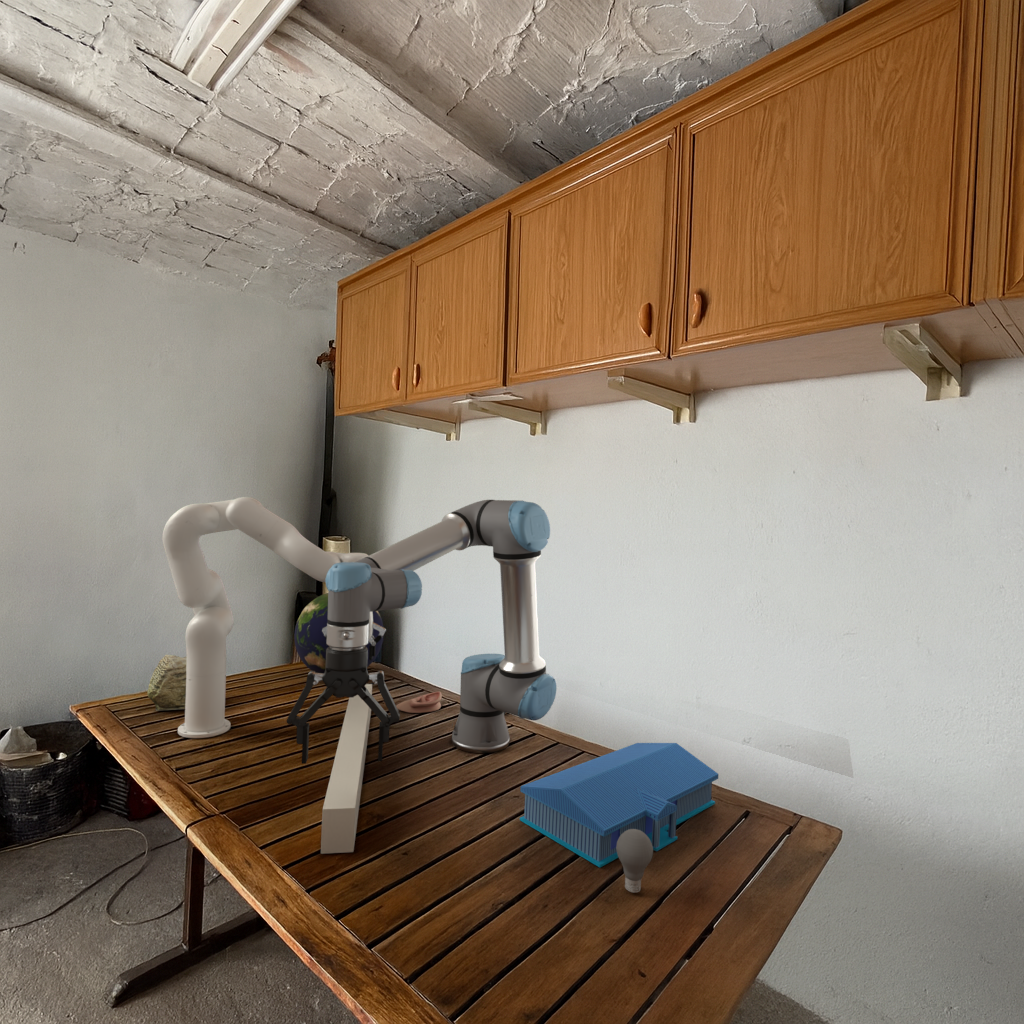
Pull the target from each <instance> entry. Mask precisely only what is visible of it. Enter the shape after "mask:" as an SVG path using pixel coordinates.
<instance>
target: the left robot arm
mask: <svg viewBox="0 0 1024 1024" xmlns="http://www.w3.org/2000/svg"><path fill="white" fill-rule="evenodd" d="M235 530H239V531H240V532H242V533H243V534H245V535H247V536H248V537H250V538H252V539H253V540H255V541H256V542H258V543H260V544H261V545H262V546H265V548H268V549H269V550H270V551H272V552H273V553H275V554H276V555H278V556H279V557H280V558H282V559H284V560H285V561H286V562H288V563H289V564H291V565H292V566H294V567H295V568H296V569H298V570H300V571H301V572H303V573H304V574H306V575H308V576H309V577H311V578H313V579H314V580H316V581H319V582H322V583H326V575H327V573H328V571H329V569H330V568H331V567H332V566H333V565H334V564H336V563H341V562H356V561H358V560H360V559H363V558H365V557H367V556H369V554H367V553H364V552H347V553H345V552H336V551H327V550H326V551H325V550H323V549H322V548H320V547H319V546H317V545H316V544H314V543H313V542H311V541H310V540H308V539H307V538H306V537H305V536H303V535H302V534H301V533H300V531H299V530H298V529H297V528H296V527H295V526H294V525H293V524H291V522H290V521H287V520H285V519H284V518H282V517H280V516H279V515H277V514H276V513H275V512H272V511H271V510H269V509H268V508H266V507H265V506H263V504H262V502H260V501H259V500H258V499H256V498H254V497H251V496H242V497H241V496H240V497H237V498H235V499H234V498H233V499H228V500H227V499H226V500H220V501H212V502H203V503H191V504H187V505H184V506H182V507H181V508H179V509H178V510H176V511H175V512H174V513H173V514H172V515H171V516H170V517H169V518H168V519H167V520H166V523H165V525H164V527H163V531H162V545H163V549H164V553H165V556H166V559H167V563H168V566H169V571H170V574H171V578H172V580H173V584H174V587H175V592H176V594H177V597H178V600H179V601H180V603H181V604H182V605H183V606H185V607H187V608H191V609H192V613H193V614H194V616H193V617H192V618H191V619H190V620H189V622H188V624H187V626H186V628H185V634H184V636H185V639H184V640H185V651H186V652H185V653H186V657H187V665H186V701H185V709H184V722H182V724H180V725H179V726H178V727H177V734H178V735H179V736H180V737H182V738H188V739H207V738H212V737H216V736H220V735H222V734H224V733H227V732H228V731H230V729H231V727H232V725H231V723H232V722H231V721H230V720H228V719H226V718H225V715H226V692H227V691H226V689H227V637H228V636H229V634H231V632H232V630H233V627H234V624H235V619H234V613H233V610H232V607H231V603H230V600H229V597H228V593H227V590H226V586H225V585H224V582H223V579H222V578H221V576H220V574H218V572H217V571H214V570H213V569H211V568H209V567H208V564H207V561H206V558H205V554H204V551H203V548H202V546H201V545H200V538H201V537H202V536H205V535H208V534H214V533H215V534H216V533H221V532H230V531H235ZM373 628H374V629H376V630H378V631H379V632H380V633H379V635H378V636H377V637H376V638H374V637H373V635H372V634H373ZM322 632H323V634H324V636H325V638H326V640H327V627H325V628H323V629H322ZM386 632H387V629H386V628H385V627H384V626H383V627H381V626H379V625H378V624H376V623H374V622H373V613H372V612H370V615H369V636H368V641H369V642H370V643H371V644H370V646H369V660H372V658H373V656H375V645H376V644H377V643H378V642H379V641H380V640H381V639H382V637H383V638H384V636H383V635H385V633H386Z"/></svg>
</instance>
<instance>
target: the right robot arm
mask: <svg viewBox="0 0 1024 1024" xmlns="http://www.w3.org/2000/svg"><path fill="white" fill-rule="evenodd" d="M550 537H551V524H550V519H549V517H548V515H547V512H546V511H545V510H544V509H543V508H542V506H540V505H539V504H537V503H535V502H531V501H525V500H517V499H516V500H506V499H483V500H479V501H476V502H472V503H470V504H468V505H465V506H463V507H461V508H458V509H455V510H454V511H451V512H449V513H447V514H445V515H444V516H443V517H442V519H441V521H440V522H438V523H436V524H433V525H431V526H429V527H427V528H425V529H422V530H420V531H418V532H417V533H414V534H412V535H409V536H408V537H405V538H404V539H402V540H399V541H397V542H395V543H393V544H391V545H389V546H386V547H385V548H382V549H380V550H377V551H376V552H374V553H371V554H368V556H367V557H365V558H363V559H360V560H358V561H356V562H341V563H336V564H334V565H333V566H332V567H331V568H330V569H329V571H328V573H327V575H326V582H325V587H326V589H327V593H328V623H327V643H326V644H327V645H328V646H329V647H328V648H327V649H326V669H325V672H324V673H315V671H313V670H312V671H311V670H310V671H309V672H308V674H307V676H306V682H305V686H304V688H303V690H302V691H301V693H300V695H299V696H298V699H297V701H296V702H295V704H294V706H293V707H292V709H291V711H290V713H289V715H288V717H287V719H286V723H287V725H293V726H295V727H296V740H295V741H296V744H297V745H302V748H301V764H302V765H304V764H307V762H308V759H309V746H310V745H309V743H310V722H308V721H309V720H310V719H311V718H312V717H313V716H314V715H315V714H316V712H318V710H320V708H321V707H322V706H323V705H324V704H325V703H326V702H327V701H328V700H329V699H330V698H331V697H332V696H333V697H335V698H337V699H338V698H339V699H340V698H344V697H346V698H349V697H354V696H356V695H358V696H359V697H360V698H361V699H362V700H363V701H364V702H365V703H366V704H367V705H368V706H369V708H370V709H371V712H372V713H373V714H374V715H375V716H376V717H377V718H378V720H379V727H378V749H377V750H378V751H377V755H378V756H377V762H383V750H384V743H388V742H389V741H390V733H391V732H390V729H391V725H392V724H394V723H399V722H400V720H401V714H400V710H398V709H397V707H396V705H397V704H396V703H395V700H394V699H393V696H392V694H391V692H390V691H389V688H388V686H387V684H386V682H385V672H384V670H382V669H379V670H377V672H369V670H368V667H367V660H368V648H367V647H366V646H365V645H367V644H368V636H369V615H370V612H373V611H378V612H381V611H387V610H389V611H390V610H397V609H398V610H399V609H401V610H403V609H405V608H409V607H413V606H415V605H417V604H418V603H419V601H420V600H421V597H422V595H423V583H422V579H421V578H420V576H419V574H418V573H417V572H415V571H416V570H418V569H420V568H422V567H423V566H426V565H428V564H429V563H431V562H433V561H435V560H437V559H440V558H441V557H443V556H445V555H447V554H449V553H451V552H453V551H464V550H466V549H467V548H468V549H469V548H470V547H476V546H486V547H491V548H492V555H493V556H492V557H493V559H494V560H496V562H498V564H499V567H500V568H499V569H500V589H501V590H500V591H501V604H502V605H501V607H502V627H503V628H502V629H503V645H504V646H503V648H504V649H503V650H504V654H502V653H479V654H474V655H469V656H466V657H465V658H464V659H463V660H462V662H461V672H460V692H459V693H460V694H459V695H460V696H459V697H460V698H459V714H458V717H457V719H456V722H455V725H454V721H452V723H451V728H453V729H452V733H451V744H452V745H453V746H454V748H456V749H458V750H461V751H463V752H467V753H472V754H491V753H497V752H500V751H504V750H505V749H506V748H508V747H509V745H510V733H509V728H508V725H507V721H506V717H505V715H506V714H509V715H513V716H516V717H518V718H519V719H522V720H529V721H538V720H541V719H542V718H543V717H545V716H546V715H547V714H548V713H549V712H550V710H551V708H552V706H553V704H554V702H555V700H556V696H557V689H558V688H557V687H558V685H557V681H556V679H555V678H554V676H552V675H551V674H550V673H547V663H546V660H545V659H544V658H543V657H542V656H541V655H540V642H539V641H540V639H539V620H538V598H537V597H538V594H537V593H538V592H537V574H536V573H537V572H536V562H537V560H539V559H540V558H541V556H542V550H544V549H545V548H546V547H547V545H548V543H549V539H550ZM320 681H322V683H323V684H324V686H325V687H326V688H325V689H324V690H323V692H322V693H321V694H320V695H319V696H318V697H317V698H316V699H315V701H313V702H312V704H311V705H310V706H309V707H308V708H307V709H306V710H305V711H304V712H303V713H302V715H301V716H299V713H300V711H301V709H302V707H303V706H304V703H306V700H307V698H308V697H309V695H310V693H311V691H312V688H313V687H314V686H317V685H318V684H319V682H320ZM369 681H372V684H373V685H376V686H377V689H378V691H379V693H380V695H381V698H382V700H383V701H384V704H385V706H386V708H387V710H388V712H389V714H388V713H387V711H386V710H385V709H384V708H383V707H382V705H381V704H380V703H379V702H378V701H377V699H376V698H375V697H374V696H373V694H372V695H371V694H370V693H369V691H368V689H367V688H366V687H365V685H366V684H368V683H369ZM453 726H454V727H453Z"/></svg>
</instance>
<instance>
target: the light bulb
mask: <svg viewBox="0 0 1024 1024" xmlns="http://www.w3.org/2000/svg"><path fill="white" fill-rule="evenodd" d="M616 849H617V854H618V859H619V861H620V863H621V865H622V867H623V873H624V874H623V875H624V876H625V878H624V888H625V890H627V891H628V892H630V893H634V894H635V893H639V892H640V891H641V889H642V887H641V886H642V879H643V877H644V875H645V871H646V868H647V867H648V866H649V864H650V863H651V861H652V859H653V855H654V850H653V846H652V843H651V841H650V839H649V838H648V836H647V835H646V834H645V833H644V832H642V831H640V830H637V829H629V830H627V831H625V832H623V833H622V834H621V835H620V837H619V839H618V841H617V846H616Z"/></svg>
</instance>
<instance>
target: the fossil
mask: <svg viewBox="0 0 1024 1024" xmlns="http://www.w3.org/2000/svg"><path fill="white" fill-rule="evenodd" d="M186 665H187V656H183V657H182V656H178V655H175V654H174V655H173V654H165V655H164V656H163V657H162V658H161V659H160V660H159V662H158V663H157V666H156V667H155V669H154V670H153V672H152V675H151V677H150V680H149V684H148V688H147V697H148V699H149V700H150V701H152V703H153V704H154V706H155V711H158V712H159V711H162V712H163V711H177V710H185V701H186Z"/></svg>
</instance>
